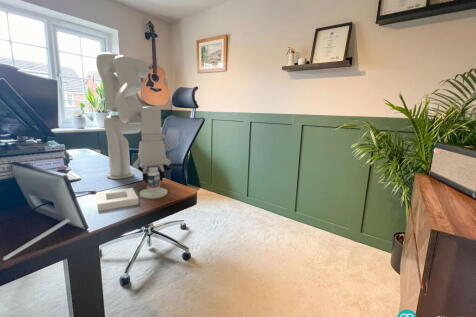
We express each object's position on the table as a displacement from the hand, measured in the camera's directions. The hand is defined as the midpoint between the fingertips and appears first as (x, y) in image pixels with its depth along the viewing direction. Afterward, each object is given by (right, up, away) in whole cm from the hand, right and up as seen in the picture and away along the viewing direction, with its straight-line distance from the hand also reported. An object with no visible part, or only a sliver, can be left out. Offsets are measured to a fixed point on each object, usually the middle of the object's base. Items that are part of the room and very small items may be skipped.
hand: (153, 180), depth 96 cm
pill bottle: (0, -3, +1) cm, 3 cm away
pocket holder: (-11, -7, -8) cm, 15 cm away
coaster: (0, -6, +1) cm, 6 cm away
